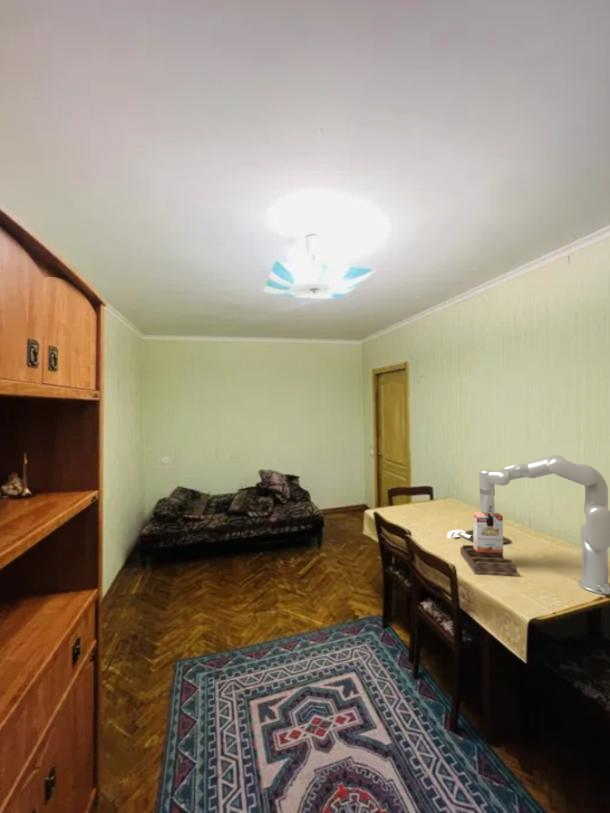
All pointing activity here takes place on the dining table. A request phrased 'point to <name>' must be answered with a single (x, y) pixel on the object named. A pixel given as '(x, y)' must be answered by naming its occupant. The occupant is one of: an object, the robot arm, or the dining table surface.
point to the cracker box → (487, 533)
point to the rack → (488, 562)
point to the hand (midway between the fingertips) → (487, 523)
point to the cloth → (454, 532)
